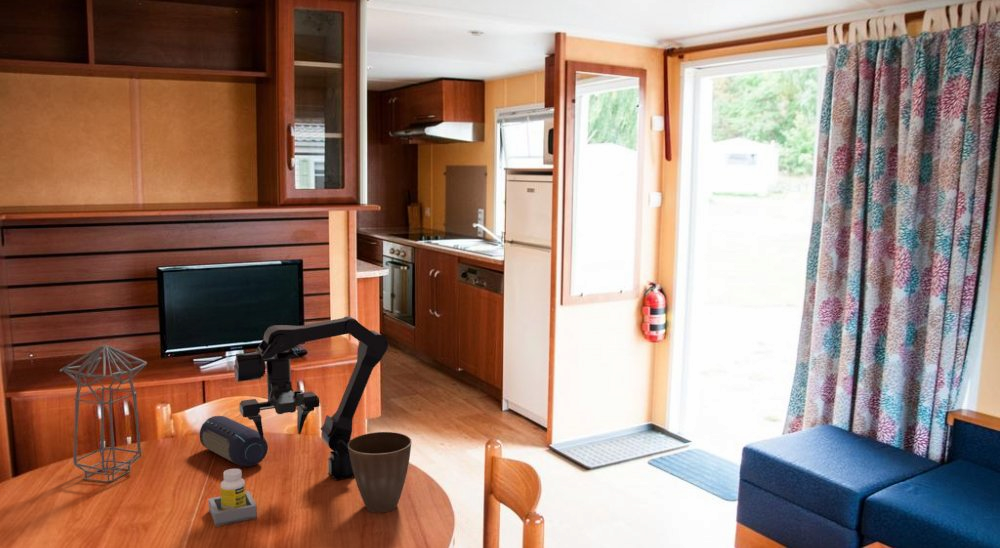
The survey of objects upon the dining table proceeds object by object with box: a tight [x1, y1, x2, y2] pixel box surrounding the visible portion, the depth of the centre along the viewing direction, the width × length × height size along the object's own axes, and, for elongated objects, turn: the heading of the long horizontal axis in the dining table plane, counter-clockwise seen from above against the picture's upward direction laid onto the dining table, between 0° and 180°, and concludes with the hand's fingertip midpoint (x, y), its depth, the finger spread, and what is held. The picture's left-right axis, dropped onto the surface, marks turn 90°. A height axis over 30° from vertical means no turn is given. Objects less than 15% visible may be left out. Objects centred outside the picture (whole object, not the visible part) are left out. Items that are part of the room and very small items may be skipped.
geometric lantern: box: [59, 344, 148, 483], centre depth 201 cm, size 16×16×35 cm
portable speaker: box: [199, 415, 269, 467], centre depth 216 cm, size 25×10×10 cm, turn 47°
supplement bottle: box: [220, 468, 246, 511], centre depth 181 cm, size 5×5×10 cm
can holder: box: [208, 490, 258, 527], centre depth 181 cm, size 9×9×3 cm
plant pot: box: [348, 431, 413, 514], centre depth 185 cm, size 15×15×16 cm
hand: (280, 436), depth 196 cm, fingers open, 9 cm apart
